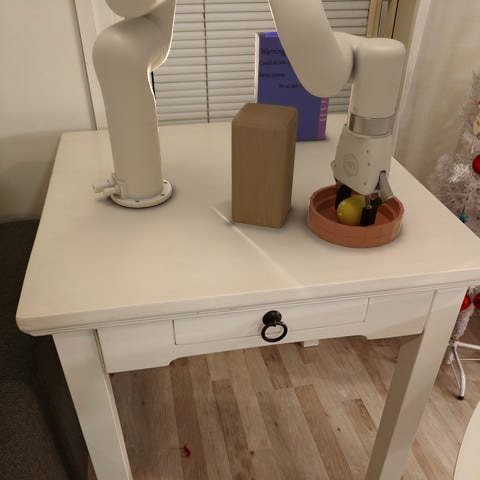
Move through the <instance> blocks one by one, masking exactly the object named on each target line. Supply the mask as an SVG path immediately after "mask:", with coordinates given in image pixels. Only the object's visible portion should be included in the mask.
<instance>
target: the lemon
mask: <svg viewBox="0 0 480 480" xmlns="http://www.w3.org/2000/svg"><path fill="white" fill-rule="evenodd" d="M363 207H366V205H365V198H364V196H361V195H359V196H354V197H351V198H347V199H345V200H343V201H342V202H341V203H340V204H339V206H338V208H337V217H338V219H339V221H340V222H341V223H342V224H344V225H348V226H358V225H360V220H361V214H362V209H363Z"/></svg>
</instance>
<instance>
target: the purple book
mask: <svg viewBox="0 0 480 480" xmlns="http://www.w3.org/2000/svg"><path fill="white" fill-rule="evenodd" d="M254 40H255V44H254V47H255V48H254V80H253V83H254V85H253V86H254V87H253V103H260V104H270V105H280V106H289V107H294V108H297V111H298V123H297V136H296V142H310V141H311V142H312V141H325V140H326V139H325V138H326V129H327V122H328V121H327V120H328V113H329V103H330V97H325V98H324V97H317V96H314V95H312V94H311V93H309V92H308V91H307V90H306V89H305V88H304V87H303V85H302V84H301V82H300V81H299V79H298V77H297V75H296V73H295V71H294V69H293V67H292V65H291V63H290V61H289V59H288V57H287V55H286V53H285V51H284V48H283V46H282V44H281V41H280V39H279V36H278V33H277V31H255V39H254Z"/></svg>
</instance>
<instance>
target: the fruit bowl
mask: <svg viewBox="0 0 480 480" xmlns="http://www.w3.org/2000/svg"><path fill="white" fill-rule="evenodd" d="M335 184H336V183H335ZM335 184H334V183H333V184H330V185H326V186H323V187H320V188H319V189H317V190H316V191H313V192H312V194H311V196H310V197H309V198H308V205H307V206H308V207H307V216H306V217H307V220H306V224H307V226H308V227H309V229H310V231H311V232H312V233H313V234H315V235H316V236H317V237H318V238H320V239H322V240H324V241H326V242H329V243H331V244H333V245H337V246H342V247H347V248H357V249H361V248H362V249H367V248H375V247H380V246H383V245H386V244H389V243H391V242H392V241H393V240H395V239H396V238H397V237H398V236H399V234H400V231H401V228H402V225H403V224H402V223H403V220H404V215H405V207H404V204H403V202H402V201H401V200H400V199H399V198H398V197H397V196H395V195H394V194H393V198H391V199H390V200H388V201H386V202H385V203H384V204H382V205H381V206H378V209H377V214H376V220H375V223H374V224H373V225H370V226H367V227H360V225H358V226H348V225H344V224H342V223H341V222H340V221H339V219H338V217H337V210H335V202H336V195H337V191H338V190H336V188H335ZM380 193H381V190H380ZM359 195H361V196H364V195H362V194H360V193H358V192H356V191H355V190H353V189H352V193H351V197H354V196H359ZM371 199H372V200H374V193H373V194H371Z"/></svg>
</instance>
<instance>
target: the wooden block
mask: <svg viewBox="0 0 480 480" xmlns="http://www.w3.org/2000/svg"><path fill="white" fill-rule="evenodd" d="M297 123H298V111H297V108H294V107H289V106H280V105H270V104H260V103H254V102H250V101H249V102H246V103H244V104H243V106H242V107H241V108H240V110H239V111H238V112H237V113H236V115H234V117H233V118H232V121H231V123H230V124H231V125H230V127H231V128H230V129H231V131H230V132H231V136H230V137H231V139H230V140H231V145H230V146H231V147H230V148H231V163H230V165H231V220H232V222H234V223H240V224H247V225H254V226H261V227H266V228H274V229H280V228H282V226H283V225H284V222H285V220H286V217H287V215H288V213H289V211H290V209H291V207H292V200H293V199H292V198H293V188H294V187H293V186H294V173H295V159H296V149H297V148H296V147H297V146H296V145H297V141H296V136H297Z"/></svg>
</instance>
